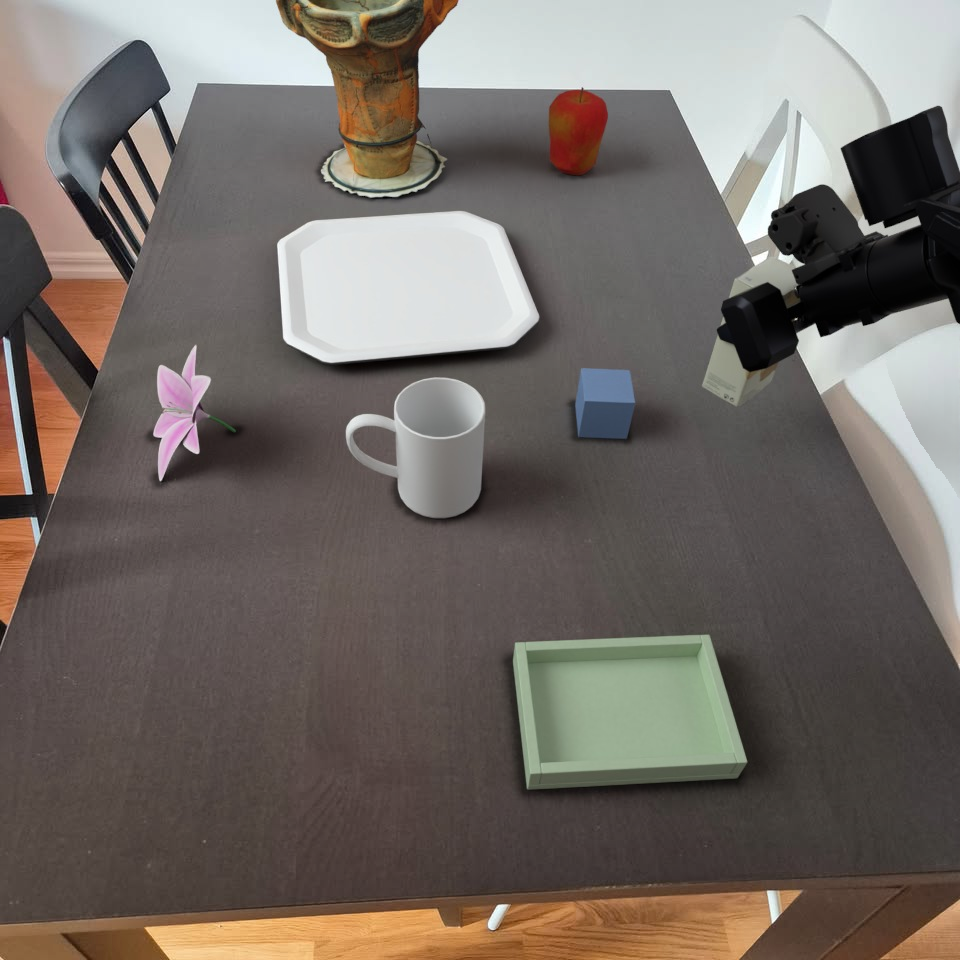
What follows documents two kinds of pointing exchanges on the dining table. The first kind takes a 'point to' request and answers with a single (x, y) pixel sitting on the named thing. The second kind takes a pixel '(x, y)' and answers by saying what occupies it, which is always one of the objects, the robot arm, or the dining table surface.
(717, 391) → the cosmetic box
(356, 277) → the plate
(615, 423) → the blue block
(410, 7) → the decorative vase
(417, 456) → the mug
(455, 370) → the dining table surface
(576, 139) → the apple
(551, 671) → the sage tray
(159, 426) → the lily
